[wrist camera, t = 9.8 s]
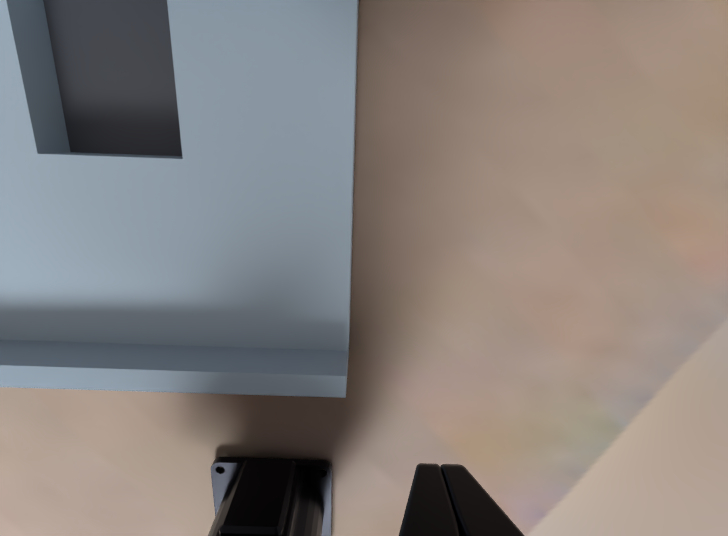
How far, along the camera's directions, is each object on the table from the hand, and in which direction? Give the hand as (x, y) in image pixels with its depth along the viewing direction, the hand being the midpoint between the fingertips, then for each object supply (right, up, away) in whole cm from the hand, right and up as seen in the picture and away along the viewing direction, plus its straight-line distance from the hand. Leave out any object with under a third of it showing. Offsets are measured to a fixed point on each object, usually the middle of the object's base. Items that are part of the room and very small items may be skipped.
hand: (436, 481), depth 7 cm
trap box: (-15, +8, +10) cm, 20 cm away
